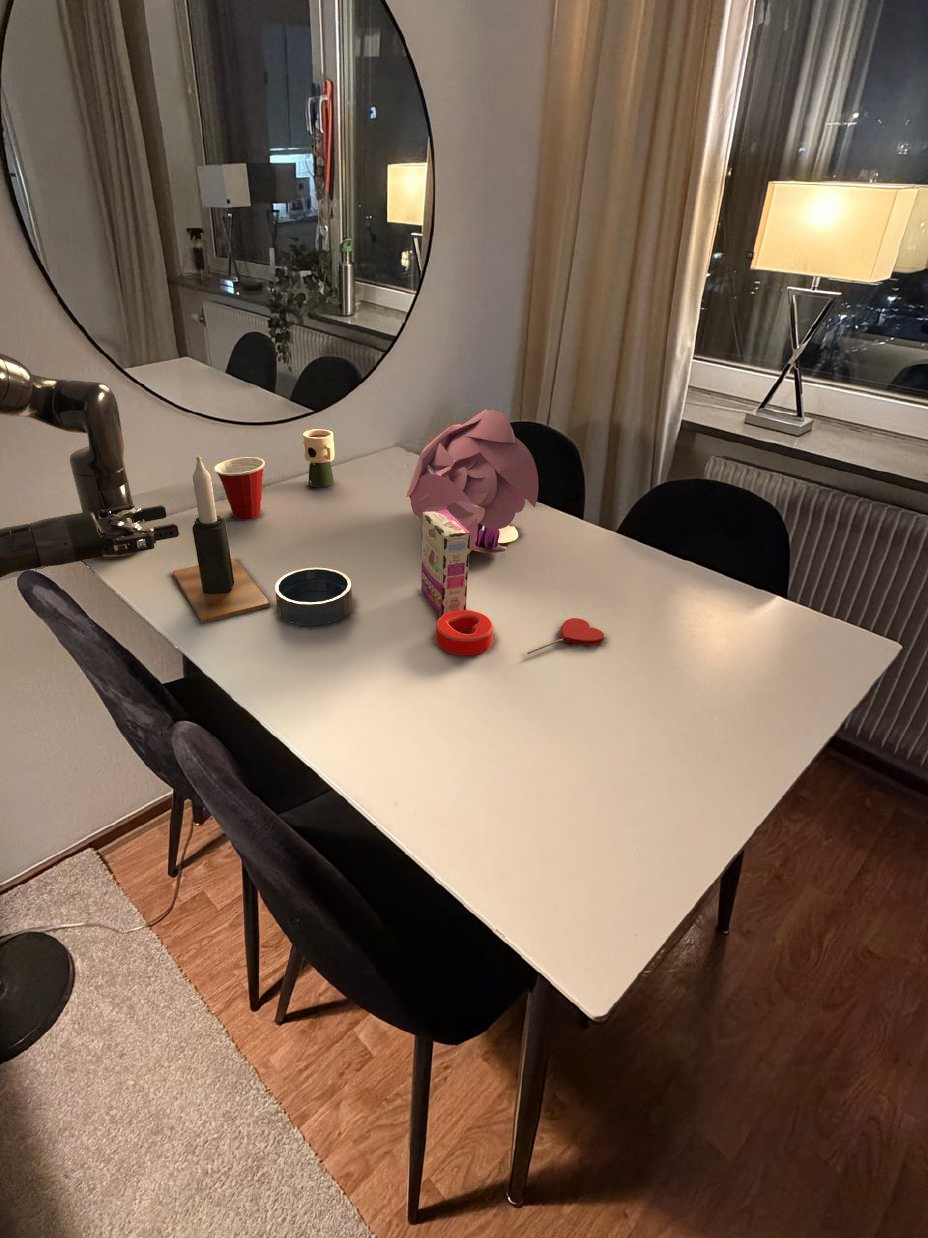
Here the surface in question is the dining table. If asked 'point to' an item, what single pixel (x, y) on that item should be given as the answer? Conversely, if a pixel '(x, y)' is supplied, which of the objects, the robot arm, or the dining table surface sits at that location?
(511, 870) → the dining table surface
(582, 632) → the lollipop
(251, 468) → the plastic cup
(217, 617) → the mat
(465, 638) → the decorative ornament
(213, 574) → the candle
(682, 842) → the dining table surface
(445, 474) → the flower arrangement
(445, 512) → the candy bar box
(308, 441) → the character mug
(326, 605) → the bowl
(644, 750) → the dining table surface
